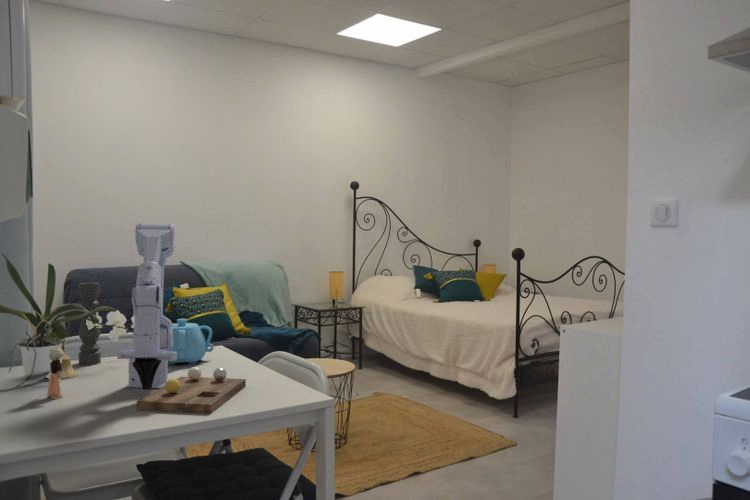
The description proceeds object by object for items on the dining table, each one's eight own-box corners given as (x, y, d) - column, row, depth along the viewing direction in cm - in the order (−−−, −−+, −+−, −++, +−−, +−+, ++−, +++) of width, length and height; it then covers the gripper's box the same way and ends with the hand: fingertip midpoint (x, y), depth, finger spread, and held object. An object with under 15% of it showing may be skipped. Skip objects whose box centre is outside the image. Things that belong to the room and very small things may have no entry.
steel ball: (211, 382, 157) (211, 369, 157) (216, 379, 160) (216, 366, 160) (223, 382, 157) (223, 369, 156) (228, 379, 160) (228, 366, 160)
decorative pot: (144, 362, 189) (143, 319, 189) (186, 354, 202) (186, 314, 202) (176, 369, 180) (176, 324, 179) (218, 360, 193) (218, 318, 193)
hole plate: (136, 409, 139) (136, 401, 139) (181, 383, 163) (181, 376, 163) (211, 413, 137) (211, 404, 137) (245, 386, 161) (245, 379, 161)
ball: (162, 394, 145) (162, 380, 145) (169, 390, 148) (169, 376, 148) (176, 395, 144) (176, 380, 144) (182, 391, 148) (182, 377, 148)
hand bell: (79, 377, 169) (79, 321, 168) (45, 381, 164) (45, 323, 164) (76, 371, 176) (75, 317, 175) (43, 375, 171) (43, 319, 171)
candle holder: (78, 365, 183) (77, 284, 182) (79, 361, 189) (78, 282, 188) (100, 364, 185) (100, 283, 185) (100, 360, 191) (100, 282, 190)
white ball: (185, 381, 158) (185, 368, 158) (191, 378, 161) (191, 365, 161) (198, 381, 157) (198, 368, 157) (203, 378, 161) (203, 365, 161)
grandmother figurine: (41, 395, 150) (41, 345, 149) (57, 392, 153) (57, 343, 152) (53, 401, 145) (53, 349, 144) (70, 398, 148) (70, 347, 147)
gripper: (110, 335, 143) (110, 391, 144) (167, 337, 142) (167, 394, 142) (125, 330, 150) (125, 384, 151) (180, 332, 149) (180, 386, 149)
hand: (147, 388), depth 147 cm, fingers closed
